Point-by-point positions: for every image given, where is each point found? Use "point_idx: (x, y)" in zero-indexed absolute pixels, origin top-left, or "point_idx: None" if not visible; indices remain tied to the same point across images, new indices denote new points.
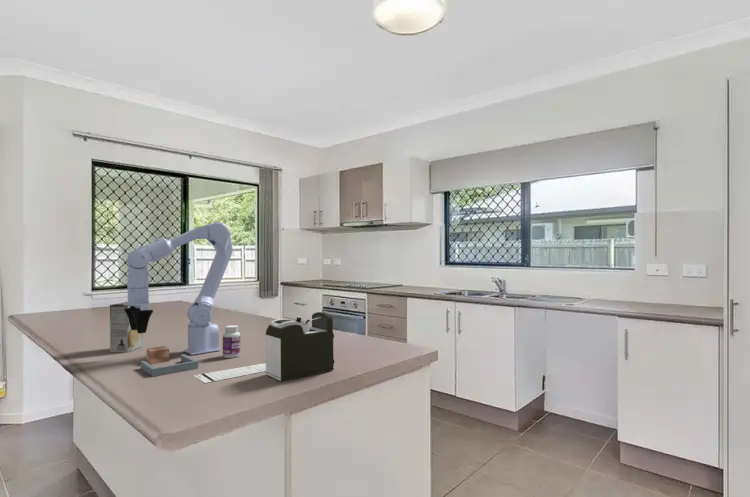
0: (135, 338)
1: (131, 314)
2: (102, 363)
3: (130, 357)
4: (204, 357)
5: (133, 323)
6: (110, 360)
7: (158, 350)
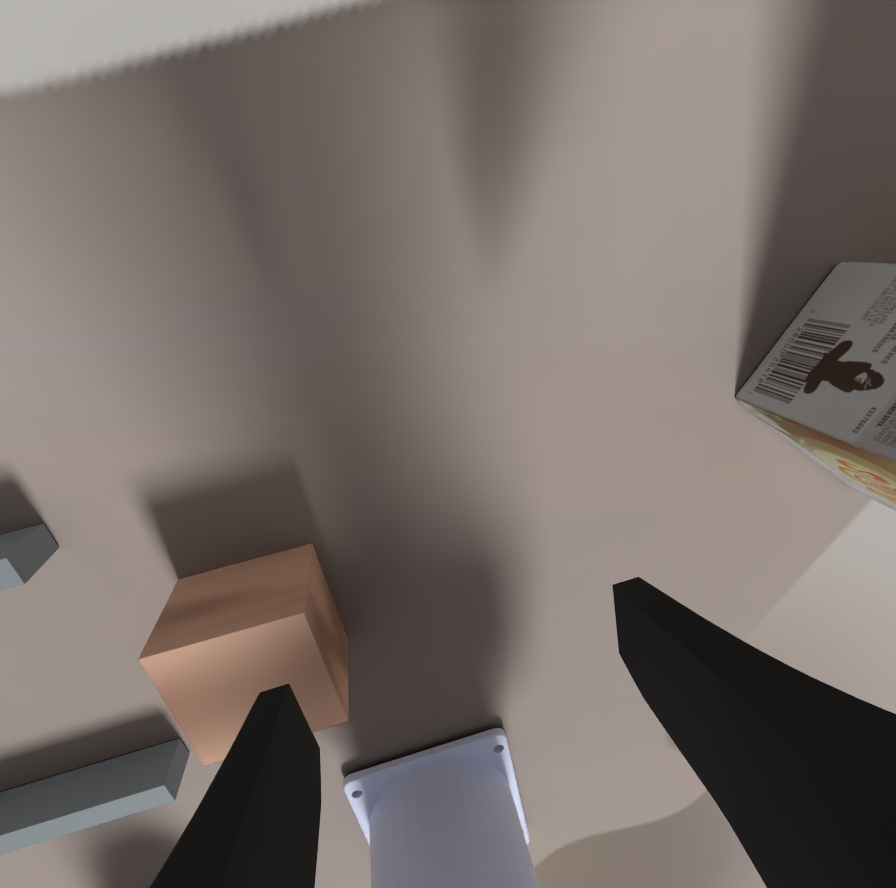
0: (875, 486)
1: (828, 831)
2: (413, 208)
3: (525, 426)
4: None
5: (675, 676)
6: (504, 275)
7: (166, 703)
